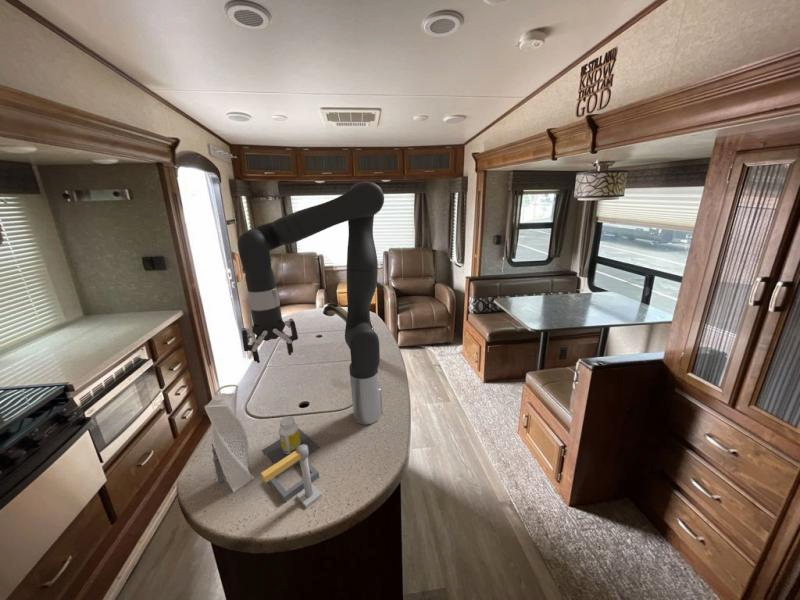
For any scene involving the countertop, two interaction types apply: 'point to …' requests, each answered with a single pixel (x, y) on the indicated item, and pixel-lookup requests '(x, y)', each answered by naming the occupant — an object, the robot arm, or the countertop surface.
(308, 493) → the socket
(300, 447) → the yellow lever
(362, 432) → the countertop surface
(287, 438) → the supplement bottle
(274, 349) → the countertop surface
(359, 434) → the countertop surface
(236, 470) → the skyscraper
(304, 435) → the mat
